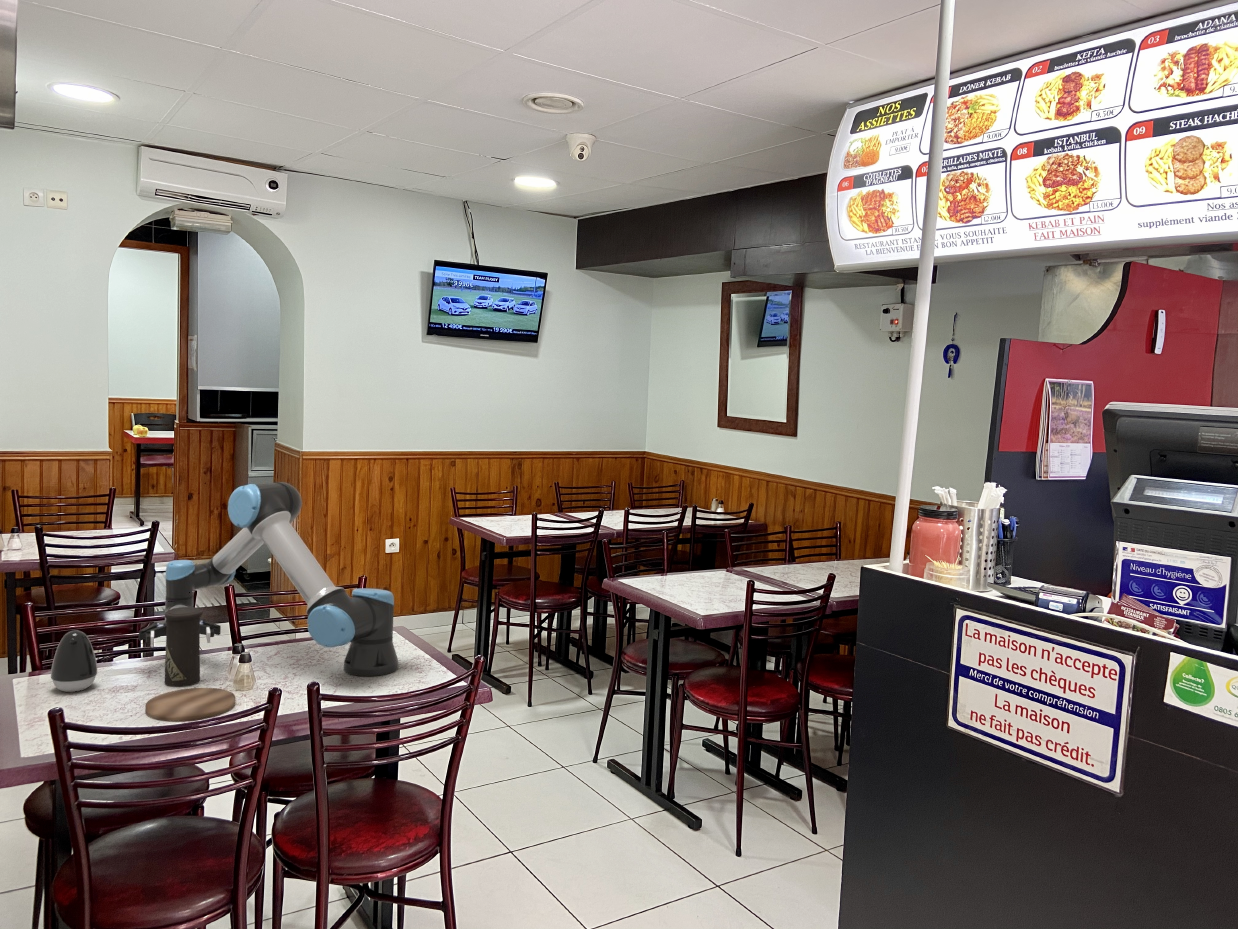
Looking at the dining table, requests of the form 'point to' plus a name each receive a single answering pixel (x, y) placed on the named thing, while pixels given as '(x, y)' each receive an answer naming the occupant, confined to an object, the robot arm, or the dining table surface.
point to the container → (182, 646)
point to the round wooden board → (190, 704)
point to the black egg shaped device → (74, 663)
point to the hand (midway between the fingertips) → (180, 640)
